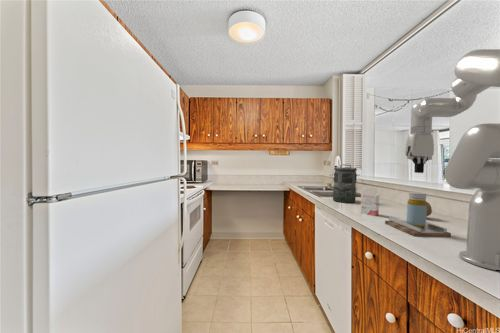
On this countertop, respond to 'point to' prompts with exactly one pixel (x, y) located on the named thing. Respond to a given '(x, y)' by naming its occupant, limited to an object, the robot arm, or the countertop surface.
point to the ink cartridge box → (369, 202)
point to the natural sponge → (428, 209)
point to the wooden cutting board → (427, 229)
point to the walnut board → (415, 233)
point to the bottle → (417, 209)
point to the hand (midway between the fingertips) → (418, 172)
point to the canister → (344, 184)
